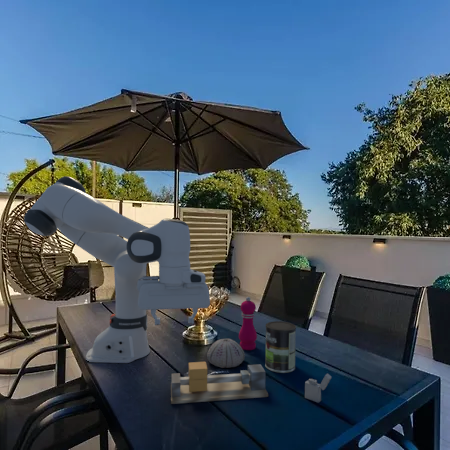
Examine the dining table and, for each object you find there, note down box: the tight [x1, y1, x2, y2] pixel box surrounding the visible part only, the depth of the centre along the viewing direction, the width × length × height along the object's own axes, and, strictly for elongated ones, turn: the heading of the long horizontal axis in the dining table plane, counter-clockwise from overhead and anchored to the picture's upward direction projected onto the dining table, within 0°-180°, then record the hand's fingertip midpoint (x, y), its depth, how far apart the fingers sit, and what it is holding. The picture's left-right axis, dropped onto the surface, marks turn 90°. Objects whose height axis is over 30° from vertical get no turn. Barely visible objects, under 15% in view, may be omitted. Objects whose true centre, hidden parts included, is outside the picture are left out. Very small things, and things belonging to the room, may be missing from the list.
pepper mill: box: [238, 296, 258, 351], centre depth 131 cm, size 7×7×20 cm
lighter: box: [304, 373, 332, 404], centre depth 91 cm, size 7×2×8 cm, turn 51°
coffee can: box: [264, 320, 297, 374], centre depth 113 cm, size 10×10×14 cm
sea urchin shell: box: [206, 338, 246, 369], centre depth 116 cm, size 13×14×8 cm
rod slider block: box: [170, 363, 269, 405], centre depth 96 cm, size 27×10×6 cm, turn 99°
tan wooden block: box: [188, 361, 208, 392], centre depth 95 cm, size 5×5×6 cm
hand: (174, 324), depth 94 cm, fingers open, 8 cm apart
